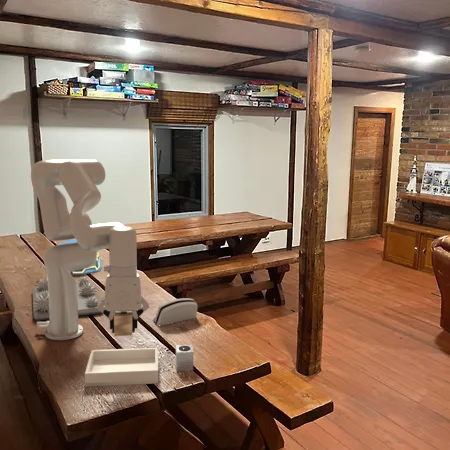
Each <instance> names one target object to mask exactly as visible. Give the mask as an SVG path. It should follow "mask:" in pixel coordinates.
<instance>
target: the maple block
mask: <svg viewBox="0 0 450 450" xmlns="http://www.w3.org/2000/svg"><path fill="white" fill-rule="evenodd" d="M132 318H133V314H132V311H115V313H114V333H113V336H114V337H120V336H121V337H122V336H123V337H126V336H133V332H132Z"/></svg>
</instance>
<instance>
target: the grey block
mask: <svg viewBox="0 0 450 450" xmlns="http://www.w3.org/2000/svg"><path fill="white" fill-rule="evenodd" d="M175 370H176V372H182V371H187V372H188V371H194V347H193V344H175Z"/></svg>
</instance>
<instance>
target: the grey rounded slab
mask: <svg viewBox="0 0 450 450" xmlns="http://www.w3.org/2000/svg"><path fill="white" fill-rule="evenodd" d="M197 314H198V304H197V302H196V301H195V300H194V299H193V298H188V297H185V298H184V297H183V298H177V299H173V300H169V301H166V302H165V303H161V304H160V305H159V307H158V309H157V312H156V314H155V316H154V317H153V320H152V322H153V321H155V322H154V323H156V326H158V325H161V326H164V325H163V324H166V325H169V324H168V323H170V324H173V323H172V322H175V323H178V321H179V322H184V321H188V320H192V318H193V319H196V318H197ZM187 319H188V320H187ZM183 320H184V321H183Z"/></svg>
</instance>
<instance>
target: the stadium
mask: <svg viewBox="0 0 450 450" xmlns="http://www.w3.org/2000/svg"><path fill="white" fill-rule="evenodd" d="M76 242H77V240H76V239H69V240H64V241H61V242H59V243H58V242H57V243H56V245H62V244H69V243H76ZM96 252H97V260H96V263H95V264H94V265H93V266H92V267H90V268H85V269H80V270H75V271H72V272H70V274H71V276H81V275H87V274H88V275H89V274H94V273H98V272H101V270H102V268H103V262H102V260H101V258H100V254H99V252H100V250H96Z"/></svg>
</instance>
